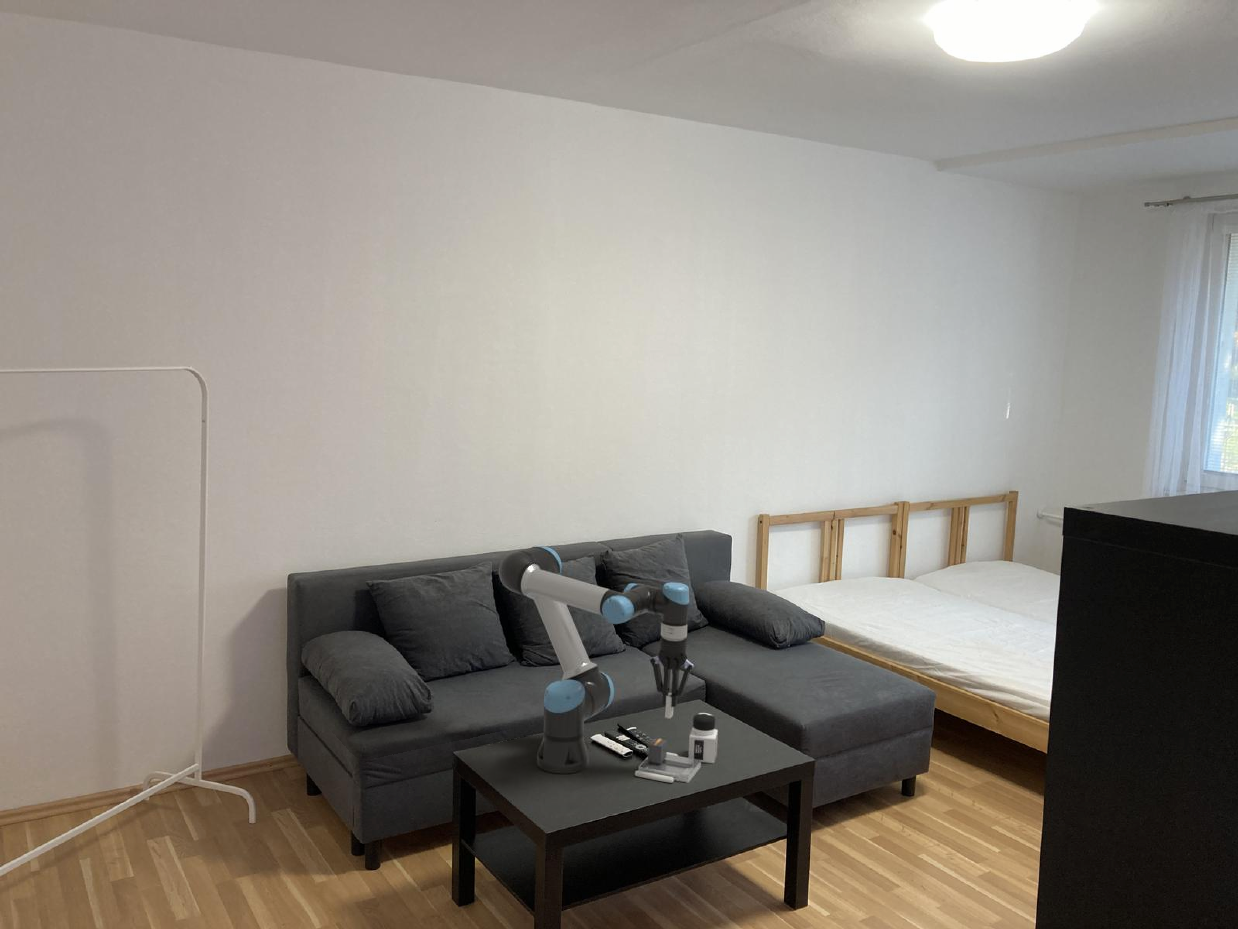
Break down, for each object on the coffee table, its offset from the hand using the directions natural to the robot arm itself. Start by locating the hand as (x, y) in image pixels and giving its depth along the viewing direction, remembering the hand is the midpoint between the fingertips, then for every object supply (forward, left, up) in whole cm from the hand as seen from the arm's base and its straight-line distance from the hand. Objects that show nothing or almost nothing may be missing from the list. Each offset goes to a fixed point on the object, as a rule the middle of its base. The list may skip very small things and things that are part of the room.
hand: (669, 716), depth 288 cm
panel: (+1, 0, -16) cm, 16 cm away
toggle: (-3, 0, -13) cm, 14 cm away
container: (+7, +13, -16) cm, 22 cm away
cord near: (-1, -8, -16) cm, 18 cm away
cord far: (-5, +8, -16) cm, 18 cm away
